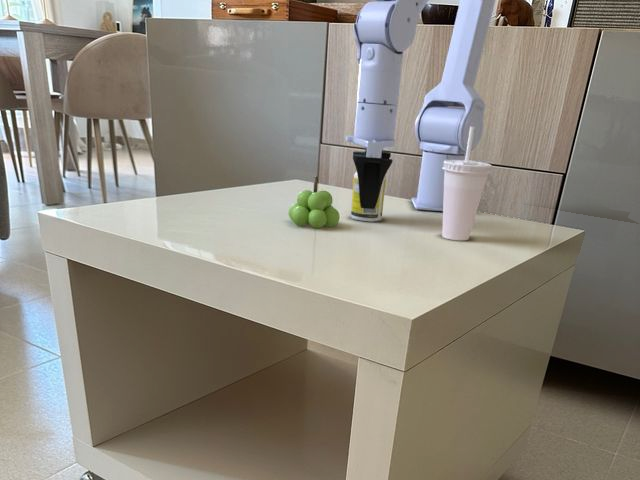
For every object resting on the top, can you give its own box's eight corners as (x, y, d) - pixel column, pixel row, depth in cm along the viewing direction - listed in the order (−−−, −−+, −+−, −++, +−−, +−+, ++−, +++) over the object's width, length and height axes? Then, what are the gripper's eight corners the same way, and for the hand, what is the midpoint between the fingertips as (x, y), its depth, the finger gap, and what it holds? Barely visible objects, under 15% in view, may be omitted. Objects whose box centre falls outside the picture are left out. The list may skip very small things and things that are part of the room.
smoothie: (426, 237, 86) (442, 124, 79) (440, 230, 91) (457, 123, 84) (471, 245, 84) (492, 129, 77) (483, 237, 89) (504, 128, 82)
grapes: (285, 218, 91) (287, 171, 88) (330, 219, 93) (334, 173, 90) (294, 229, 85) (296, 179, 82) (342, 230, 86) (346, 181, 83)
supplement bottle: (363, 214, 98) (368, 156, 94) (387, 219, 95) (394, 160, 91) (344, 217, 95) (348, 157, 91) (368, 223, 92) (374, 161, 88)
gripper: (349, 100, 94) (342, 195, 101) (347, 103, 81) (339, 211, 88) (396, 103, 94) (385, 198, 100) (402, 107, 81) (389, 215, 88)
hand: (367, 205), depth 94 cm, fingers closed on supplement bottle, 5 cm apart
